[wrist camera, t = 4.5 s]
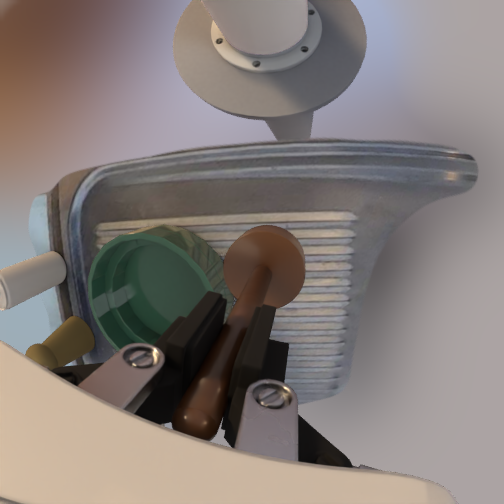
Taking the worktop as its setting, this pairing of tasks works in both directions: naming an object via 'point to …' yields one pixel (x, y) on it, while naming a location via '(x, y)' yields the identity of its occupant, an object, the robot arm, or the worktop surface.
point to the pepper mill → (63, 344)
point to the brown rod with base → (240, 319)
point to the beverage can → (30, 278)
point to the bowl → (151, 282)
